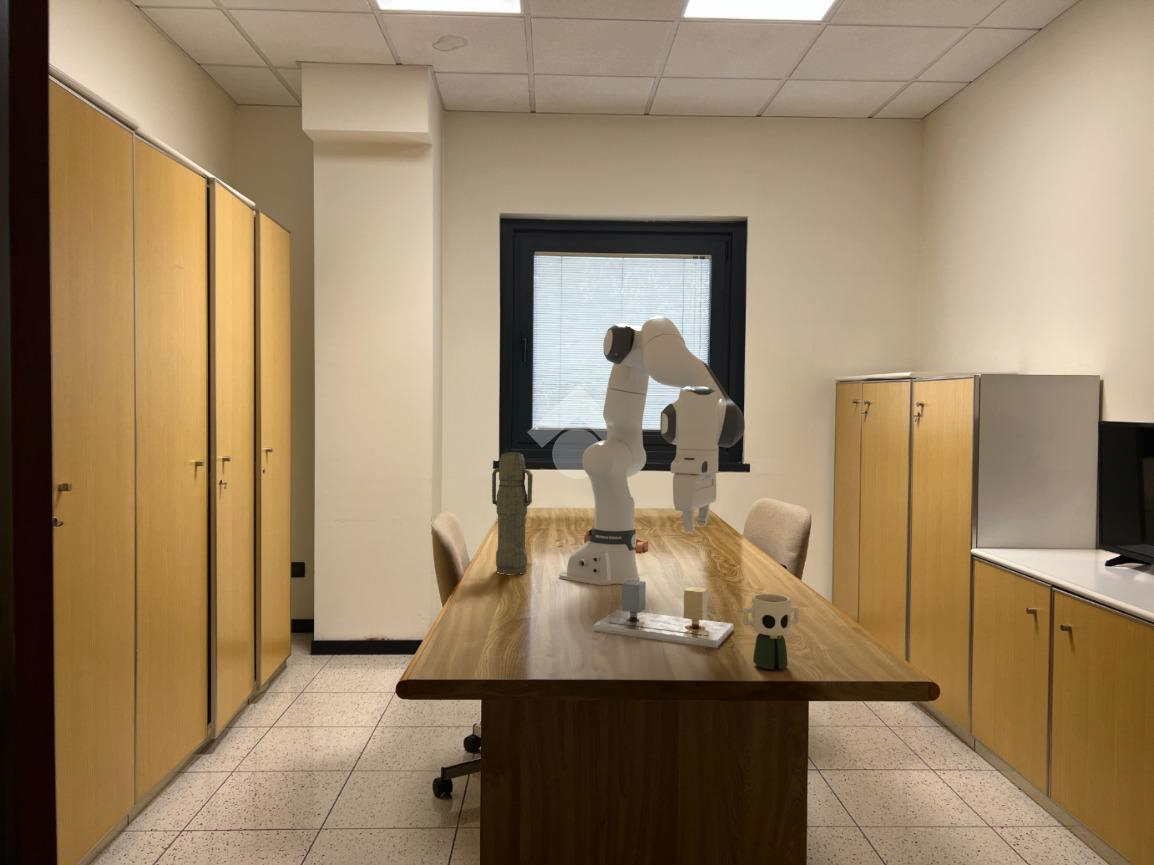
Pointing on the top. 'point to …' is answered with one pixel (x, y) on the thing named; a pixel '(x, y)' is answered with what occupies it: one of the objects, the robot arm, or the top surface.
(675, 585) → the top surface
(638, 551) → the crank
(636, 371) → the robot arm
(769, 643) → the character mug
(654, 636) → the bolt plate
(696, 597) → the wooden block peg
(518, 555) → the brown tall vase
